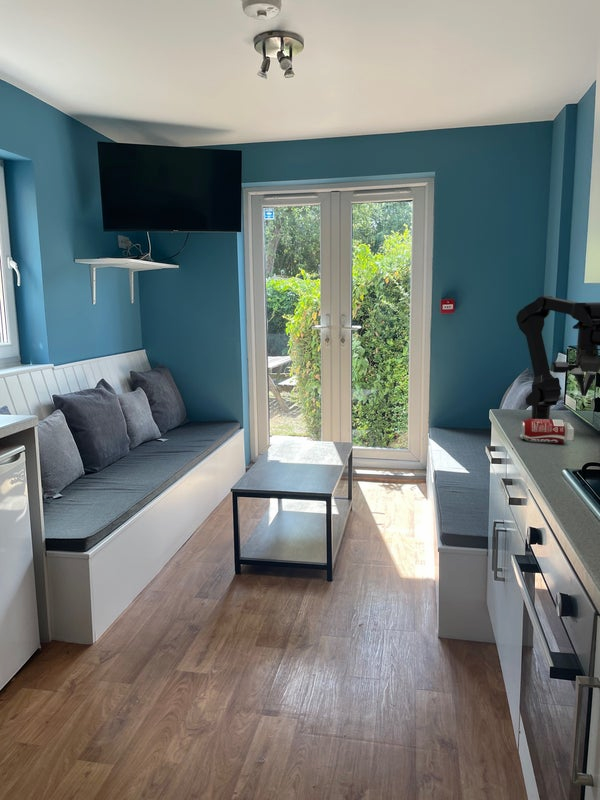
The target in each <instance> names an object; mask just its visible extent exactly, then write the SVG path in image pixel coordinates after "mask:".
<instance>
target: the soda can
mask: <svg viewBox="0 0 600 800" xmlns="http://www.w3.org/2000/svg"><path fill="white" fill-rule="evenodd" d="M565 422H566V421H565V420H564V419H555V418H554V419H531V418H527V419H525V420H521V422H520V426H519V427H520V428H519V429H520V433H519V434H520V439H521V440H525V441H526V442H532V443H533V442H535V443H553V444H554V443H555V444H564V443H565V442H566V441H567V440H566V439H567V434H568V428H567V424H566V423H565Z"/></svg>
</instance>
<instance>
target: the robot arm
mask: <svg viewBox="0 0 600 800" xmlns="http://www.w3.org/2000/svg"><path fill="white" fill-rule="evenodd" d="M551 311H553V312H557V313H562V314H565V315H568V316H570V317H572V319H573V320H575V321H577V323H576V324H574V325H573V326H572V329H573V330H577V341H576V342H577V343H576V357H575V364H568V362H566V361H553V362H552V363H551V364H550V365H551V366H549V362H548V361H549V360H548V356H547V352H546V351H547V350H546V347H545V342H544V337H543V334H542V333H543V331H544V330H543V329H544V327H545V319H546V318H547V317H548V316H549V315H550V313H551ZM515 318H516V319H515V320H516V322H517V326H518V329H519V330H520V331H521V332H522V333H523V334H524V335H525V338H526V342H527V343H526V344H527V347H528V352H529V356H530V361H531V362H530V363H531V366H532V370H533V375H534V377H533V381H532V382H531V383H532V384H531V392H530V393H528V395H527V396H526V397H525V403H526V406H529V407H531V415H530V419H550V417H551V406H557V404H558V401H559V399H560V396H561V394H562V393H561V390H562V387H561V384H560V383H561V382H560V379H559V377H554V376H553V375H552V374H551V372H553V373H555V374H556V373H557V374H558V373H560V374H561V373H563V374H564V373H566V372H568V371H570V374H571V375H572V376H574V377H575V379H576V381H577V385H578V389H579V391H580V396H581V397H586V395H587V394H588V392H589V389H590V388H591V386H592V384H593V382H594V381H595V380H596V378H595V374H594V372H599V370H600V358H599V357H598V356H597V355H599V347H600V302H599V301H596V302H592V301H591V302H576V301H572V300H568V299H563V298H557V297H554V296H551V295H546V296H545V295H542V296H541V295H540V296H539V297H537V298H536V299H535V300H534V301H533V302H531V303H529V304H527V305H525V306H523V308H522V309H520V310H519V311H518V312H517V314H516V317H515ZM583 372H584V373H585V374H584V373H583ZM599 373H600V372H599Z"/></svg>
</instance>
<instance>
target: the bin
mask: <svg viewBox="0 0 600 800" xmlns="http://www.w3.org/2000/svg"><path fill="white" fill-rule="evenodd" d="M565 423H566V424H567V428H568V434H567V439H566V440H565V441H571V442H572V441H574V435H575V429H574V427H573V426H572V424H571V423H570V422H569V421H568V422H567V421H565Z"/></svg>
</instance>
